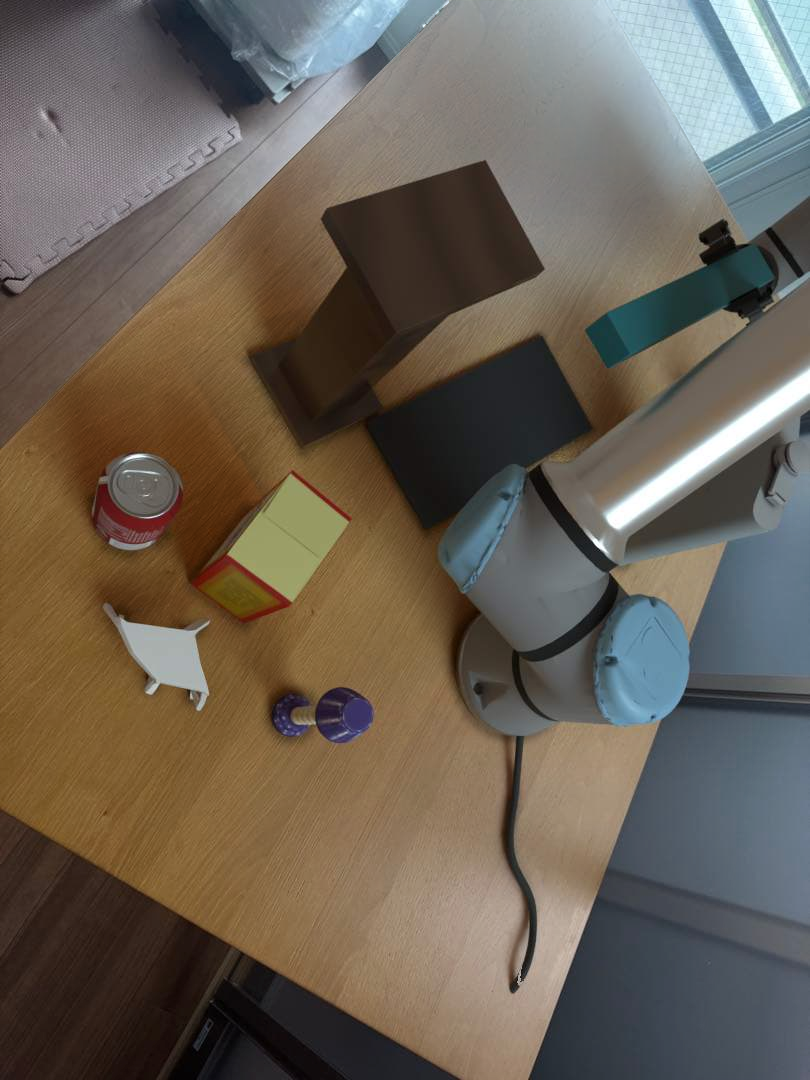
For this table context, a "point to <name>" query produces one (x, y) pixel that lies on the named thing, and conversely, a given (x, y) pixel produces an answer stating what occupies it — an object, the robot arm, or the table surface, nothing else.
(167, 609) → the table surface
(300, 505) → the baking soda box
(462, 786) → the table surface
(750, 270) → the block
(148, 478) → the soda can
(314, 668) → the table surface
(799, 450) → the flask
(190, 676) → the white flat legged piece
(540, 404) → the mat
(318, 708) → the toy lamp
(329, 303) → the stand
